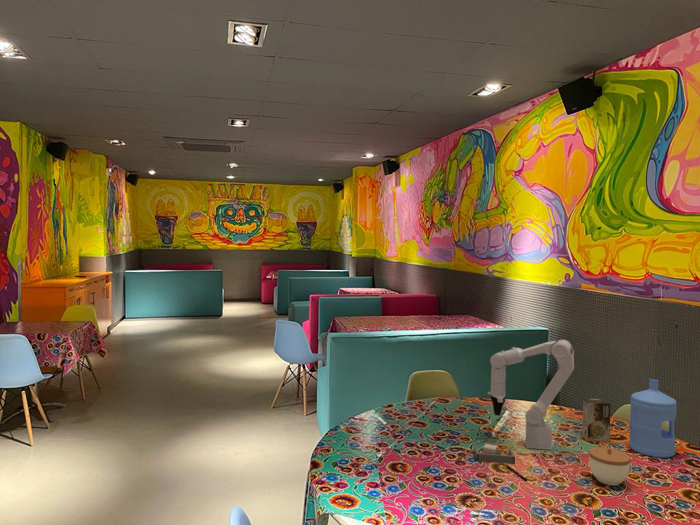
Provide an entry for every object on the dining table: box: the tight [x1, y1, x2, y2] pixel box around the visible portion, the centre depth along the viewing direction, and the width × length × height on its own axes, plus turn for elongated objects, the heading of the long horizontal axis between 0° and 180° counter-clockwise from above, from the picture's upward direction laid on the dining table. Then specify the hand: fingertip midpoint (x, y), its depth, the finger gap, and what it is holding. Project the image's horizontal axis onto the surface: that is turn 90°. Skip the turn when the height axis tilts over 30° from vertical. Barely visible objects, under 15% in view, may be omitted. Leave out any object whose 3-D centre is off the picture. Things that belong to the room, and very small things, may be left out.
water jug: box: [628, 378, 678, 459], centre depth 199 cm, size 16×16×28 cm
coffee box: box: [581, 397, 611, 443], centre depth 211 cm, size 9×6×16 cm
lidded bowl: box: [588, 446, 632, 486], centre depth 172 cm, size 13×13×11 cm
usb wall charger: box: [482, 443, 505, 455], centre depth 190 cm, size 4×7×4 cm, turn 64°
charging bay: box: [473, 444, 516, 465], centre depth 189 cm, size 14×9×2 cm, turn 82°
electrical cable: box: [505, 464, 529, 482], centre depth 176 cm, size 12×1×1 cm, turn 16°
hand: (497, 414), depth 210 cm, fingers closed
